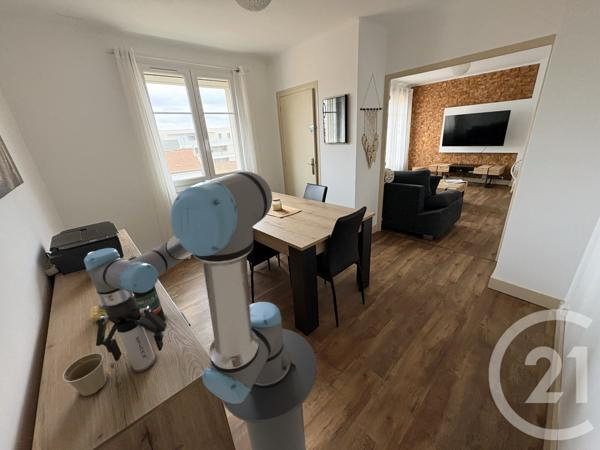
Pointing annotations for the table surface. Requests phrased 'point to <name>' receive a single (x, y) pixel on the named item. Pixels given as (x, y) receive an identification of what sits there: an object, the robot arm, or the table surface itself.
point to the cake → (97, 312)
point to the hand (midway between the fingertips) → (140, 352)
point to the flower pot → (86, 374)
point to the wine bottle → (149, 300)
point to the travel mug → (136, 345)
